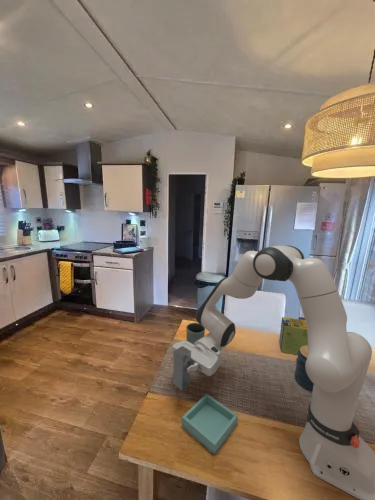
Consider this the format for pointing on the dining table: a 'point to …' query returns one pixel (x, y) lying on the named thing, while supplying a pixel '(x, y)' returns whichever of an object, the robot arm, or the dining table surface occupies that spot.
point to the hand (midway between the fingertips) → (180, 366)
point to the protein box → (293, 335)
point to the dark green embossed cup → (194, 332)
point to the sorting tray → (210, 423)
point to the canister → (303, 369)
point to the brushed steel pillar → (181, 367)
